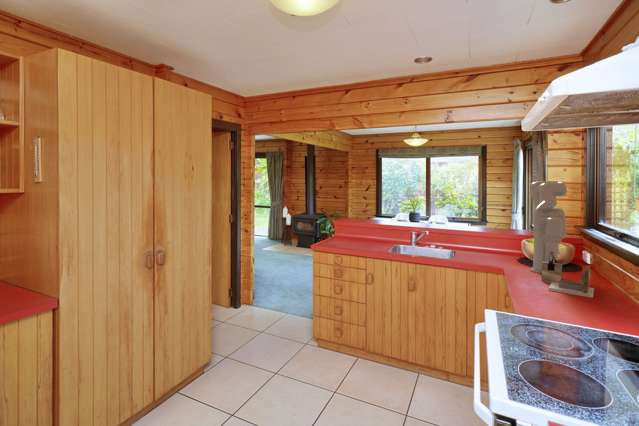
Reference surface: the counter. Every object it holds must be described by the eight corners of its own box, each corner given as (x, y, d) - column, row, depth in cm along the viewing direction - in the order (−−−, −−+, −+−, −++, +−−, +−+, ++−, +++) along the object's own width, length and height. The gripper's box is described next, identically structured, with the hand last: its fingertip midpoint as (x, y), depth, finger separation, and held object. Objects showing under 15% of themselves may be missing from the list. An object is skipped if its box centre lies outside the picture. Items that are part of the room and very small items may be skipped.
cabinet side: (581, 286, 174) (582, 264, 173) (588, 287, 172) (589, 265, 171) (579, 292, 165) (580, 268, 164) (587, 293, 163) (588, 269, 162)
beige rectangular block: (542, 280, 192) (543, 261, 192) (561, 282, 186) (562, 263, 186) (541, 281, 190) (542, 262, 189) (560, 284, 184) (561, 264, 183)
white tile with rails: (551, 284, 183) (552, 277, 183) (593, 291, 171) (594, 283, 171) (548, 290, 173) (548, 282, 172) (592, 297, 161) (593, 289, 160)
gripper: (547, 237, 195) (546, 266, 196) (543, 240, 182) (541, 270, 183) (563, 238, 190) (561, 267, 191) (559, 241, 177) (558, 272, 178)
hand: (552, 269), depth 187 cm, fingers open, 9 cm apart
